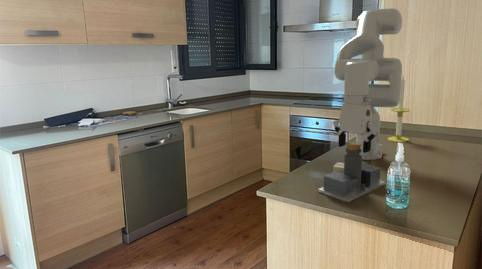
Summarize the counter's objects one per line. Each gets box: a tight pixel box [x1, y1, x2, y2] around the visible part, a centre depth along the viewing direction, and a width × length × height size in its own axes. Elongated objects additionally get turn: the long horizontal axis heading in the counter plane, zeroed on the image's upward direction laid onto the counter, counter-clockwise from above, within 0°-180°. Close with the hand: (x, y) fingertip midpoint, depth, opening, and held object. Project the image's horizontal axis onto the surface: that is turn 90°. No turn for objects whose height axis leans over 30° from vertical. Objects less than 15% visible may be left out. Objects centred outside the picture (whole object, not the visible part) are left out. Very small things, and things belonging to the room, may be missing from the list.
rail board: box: [317, 162, 386, 203], centre depth 129 cm, size 22×12×6 cm, turn 129°
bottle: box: [343, 141, 363, 188], centre depth 128 cm, size 6×6×15 cm
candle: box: [387, 75, 411, 143], centre depth 183 cm, size 10×10×32 cm
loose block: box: [332, 162, 344, 174], centre depth 143 cm, size 5×4×4 cm
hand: (353, 148), depth 127 cm, fingers open, 9 cm apart
